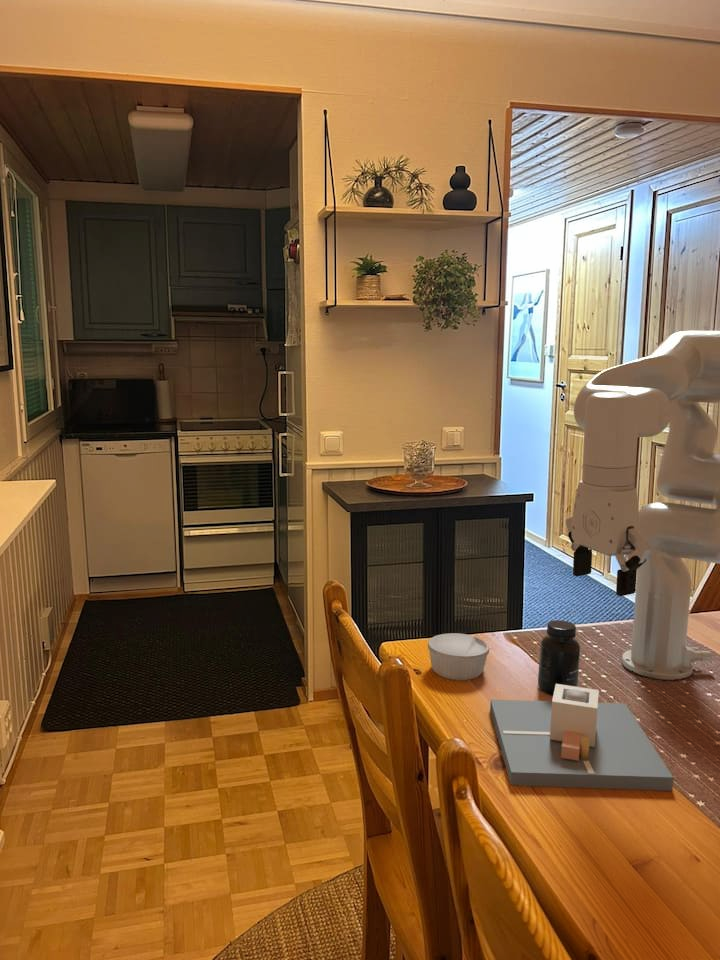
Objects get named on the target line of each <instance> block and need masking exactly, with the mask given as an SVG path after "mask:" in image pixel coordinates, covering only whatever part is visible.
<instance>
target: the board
mask: <svg viewBox="0 0 720 960" xmlns="http://www.w3.org/2000/svg"><path fill="white" fill-rule="evenodd" d="M565 700H571V701H578V702H584V703H586V693H585V692H583V691H580V690H576V689H571V690H567V691H566V695H565ZM489 705H490V707H489V708H490V709H489V712H490V715H491V719H492V722H493V727H494V730H495V733H496V737H497V740H498V744H499V747H500V748H501V749H500V751H501V755H502V759H503V762H505V763H504V766H505V765H506V767H505V769H507V770H506V774H507V773H508V774H507V777H508V776H509V778H508V780H510V781H509V785H510V784H511V785H526V786H525V787H541V786H547V787H549V788H578V789H579V788H580V789H607V790H609V789H611V790H632V791H633V790H636V791H639V790H640V791H668V792H671V791H673V787H674V776H673V774H672V773H671V771H670V770H669V768H668V767H667V765H666V763H665V762H664V760H663V759H662V757H661V756H660V754H659V752H658V751H657V750H656V748H655V747H654V745H653V743H651V740H650V739H649V738H648V736H647V735H646V733H645V732H644V730H643V728H642V727H641V726H640V724H639V722H638V721H637V719H636V718H635V716H634V715H633V713H632V712H631V710H630V709H629V707H628V706H627V704H626V703H623V702H621V703H619V702H598V710H597V724H596V737H595V747H592V746H589V742H590V738H589V737H587V736H581V744H580V753H579V761H577V760H571V759H565V758H561V750H562V742H563V741H557V740H551V739H550V727H551V710H552V700H519V699H518V700H517V699H516V700H514V699H490V703H489ZM511 785H510V786H511ZM547 787H546V788H547Z"/></svg>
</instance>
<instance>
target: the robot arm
mask: <svg viewBox="0 0 720 960" xmlns="http://www.w3.org/2000/svg"><path fill="white" fill-rule="evenodd" d="M700 403H708V404H720V330H683V331H677V332H676V331H675V332H674V333H672V334H670V335H668V336H667V337H665V339H664V340H663V341H662V342H660V343H659V344H658V345H657V346H656V347H655V348H654V349H653V351H651V352H650V353H649V354H648V355H647V356H645V357H642V358H639V359H635V360H632V361H629V362H625V363H623V364H620V365H616V366H613V367H610V368H606V369H604V370H603V371H601V372H598V373H597V374H595V375H594V376H593V377H592V378H591V379H590V380H589V381H587V382H586V383H585V385H583V386H582V388H580V391H579V392H578V394H577V396H576V398H575V401H574V405H573V416H574V417H573V418H574V421H575V423H576V424H577V426H578V427H579V428H580V429H582V430H583V431H584V432H583V433H584V435H583V455H582V457H583V458H582V466H581V468H582V478H581V479H582V480H579V482H578V484H577V489H576V493H575V497H574V503H573V510H572V516H571V517H569V518H566V519H565V525H566V529H567V535H568V536H567V537H568V539H569V540H570V542H571V546H570V547H571V548H570V549H571V550H572V551H573V559H572V560H573V561H572V562H573V564H572V575H573V576H574V577H582V576H585V575H590V574H591V573H592V563H593V561H592V560H593V559H592V558H593V551H594V552H597V553H600V554H602V555H605V556H609V557H615V559H616V561H617V563H618V565H619V567H620V569H617V572H616V589H615V594H616V595H617V596H619V597H625V596H629V595H634V594H635V596H634V611H633V622H632V623H633V624H632V634H631V635H632V636H631V647H630V649H629V650H627V651H624V652H623V653H622V654H621V663H622V665H623V666H624V667H625V668H626V669H627V670H628V671H631V672H632V671H633V673H635V674H637V675H640V676H644V677H647V678H650V679H656V680H667V681H671V680H672V681H675V680H676V679H677V680H681V679H682V678H683V679H686V678H688V677H690V676H691V675H692V674H693V672H694V671H693V669H694V665H693V663H695V661H698V662H708V663H709V662H712V661H713V655H712V652H711V651H710V650H700V648H699V647H698V646H693V647H692V646H688V645H687V638H688V637H687V635H688V628H689V627H688V626H689V625H688V624H689V616H690V603H691V595H692V593H691V592H692V577H691V574H690V571H689V570H688V568H687V566H686V563H684V561H683V559H688V560H693V561H700V562H706V563H712V564H720V453H719V452H718V453H717V452H714V451H715V447H716V442H717V439H718V429H717V426H716V424H715V423H714V420H713V419H712V418H711V416H710V415H709V414H708V412H706V410H705V409H704V408H703V407H702V406H701V404H700ZM668 425H669V430H668V433H667V434H668V435H667V437H666V438H667V439H666V441H665V444H664V445H665V446H664V450H663V454H662V457H661V460H660V461H661V462H660V465H659V469H658V473H657V479H656V486H657V490H658V492H659V493H660V494H661V495H662V496H663V497H665V498H668V499H671V500H674V501H675V500H676V501H681V502H688V503H694V504H696V503H697V504H703V505H710V506H715V507H716V508H709V507H703V506H702V507H701V506H696V505H695V506H694V505H688V504H681V503H675V502H667V501H665V502H664V501H659V502H658V501H657V502H652V503H651V502H650V503H647V504H645V505H644V506H643V507H642V508H640V509H639V502H638V501H639V499H638V492H637V488H636V486H635V485H636V484H635V483H636V467H637V466H636V465H637V452H638V451H637V449H638V448H637V447H638V438H650V437H651V438H652V437H655V436H656V435H659V434H660V433H662V432H663V431H664V430H665V429H666V428H667V427H668ZM625 555H626V556H627V558H628V560H627V559H626V556H625Z"/></svg>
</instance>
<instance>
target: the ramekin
mask: <svg viewBox="0 0 720 960" xmlns="http://www.w3.org/2000/svg"><path fill="white" fill-rule="evenodd" d="M427 648H428V650H429V657H430V664H431V665H430V666H431V668H432V670H433V671H434V673H435V674H436V675H438V676H440V677H441V678H445V679H449V680H453V681H469V680H473V679H476V678H478V677H480V675H482V674H483V672H484V670H485V666H486V662H487V657H488V655H489V653H490V646H489V644H488V643H487V641H485V640H483V639H482V638H480V637H477V636H475V635H470V634H466V633H460V632H459V633H457V632H456V633H453V632H451V633H449V632H448V633H442V634H437V635H434V636H433V637H431V638H430V639H429V640H428V642H427Z"/></svg>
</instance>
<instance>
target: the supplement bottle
mask: <svg viewBox="0 0 720 960" xmlns="http://www.w3.org/2000/svg"><path fill="white" fill-rule="evenodd" d="M546 628H547V629H546V636H544V637H543V638H541V640H540V645H539V659H538V660H539V661H538V675H537V687H538V688H539V690H540V691H541V692H542V693H544V694H545V695H546V694H547V695H550V696H552V697H553V694H554V690H555V685H556V684H561V685H568V686H575V687H579V685H578V684H579V671H580V659H581V658H580V657H581V644H580V642H579V641H578V640H577V639H576V638H577V637H576V635H577V634H576V632H577V631H576V630H577V627H576V624H575V623H573V622H569V621H567V620H561V619H560V620H550V621H549V622H548V623H547V627H546Z"/></svg>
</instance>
